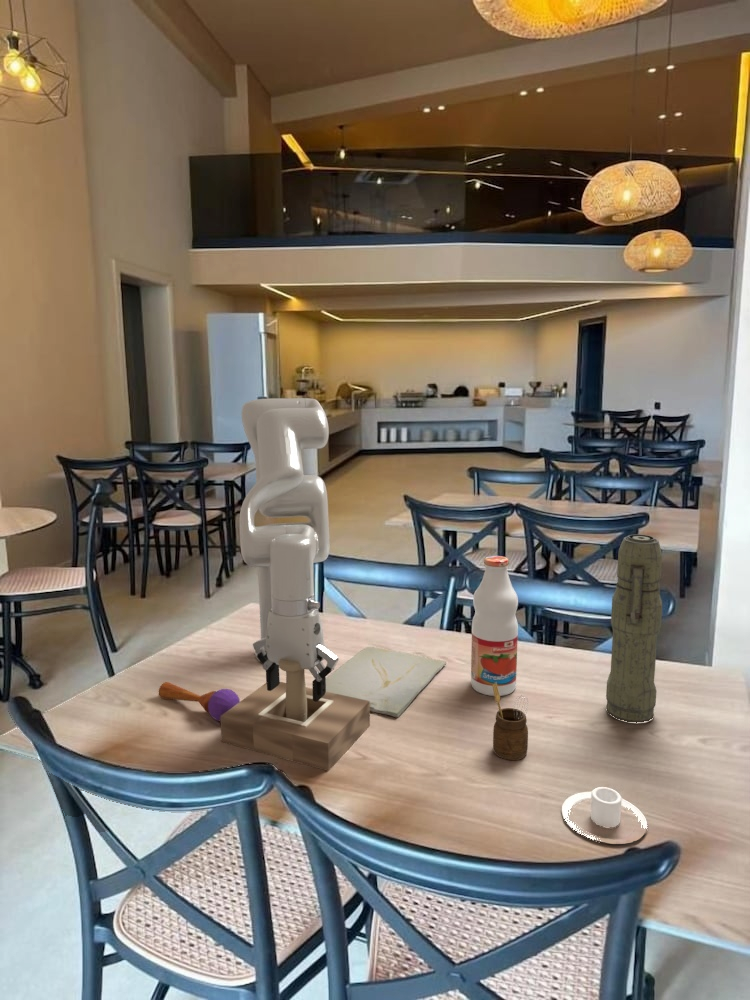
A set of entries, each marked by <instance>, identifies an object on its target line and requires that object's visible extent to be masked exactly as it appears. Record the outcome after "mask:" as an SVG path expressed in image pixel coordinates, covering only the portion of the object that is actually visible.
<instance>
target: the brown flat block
mask: <svg viewBox="0 0 750 1000" xmlns="http://www.w3.org/2000/svg"><path fill="white" fill-rule="evenodd" d="M312 688H313V687H312ZM312 688H311V687H306V696H307V720H306V721H305V722H301V721H297V720H293V719H289V718H286V682H283V681H280V684H279V685H278V686H277V687H275V688H274V689H273V690H271V691H268V690H267V683H266V682H265V683H264V684H262V685H261V686H260V687H258V688H257V689H255V690H254V691H253V692H252V693H250V694H249V695H247V696H246V697H244V698H243V699H242V700H240V702H239V703H238V704H236V705H235V706H234V707H232V708H231V709H230V710H228V711H227V712H225V713H224V714H223V715H221V716H220V719H221V721H220V732H221V733H220V734H221V736H220V737H221V743H225V744H228V745H232V746H236V747H239V748H243V749H247V750H251V751H254V752H258V753H261V754H265V755H269V756H272V757H276V758H280V759H284V760H288V761H291V762H295V763H299V764H302V765H306V766H310V767H313V768H316V767H317V769H320V768H321V770H325V771H328V772H329V771H330V770H331V769H332V768H333V767H334V766H335V765H336V764H337V762H338V761H340V759H341V758H342V757H343V756H344V755H345V754H346V752H348V750H349V749H350V748H351V747H352V746H353V745H354V744H355V743H356V742H357V740H358V739H359V738H361V736H362V735H363V734H364V733H365V732H366V731H367V730H368V728H369V727H370V726H371V724H370V723H371V720H370V719H371V717H370V716H371V715H370V714H371V711H370V701H367V700H363V699H358V698H354V697H349V696H344V695H340V694H335V693H330V692H326V693H325V695H324V696H323V697H322V698H321V699H319V700H318V701H317V702H315V701H314V700H313V689H312Z"/></svg>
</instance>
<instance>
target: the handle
mask: <svg viewBox="0 0 750 1000" xmlns="http://www.w3.org/2000/svg"><path fill="white" fill-rule="evenodd" d="M278 666H279V670H282V671H283V672H286V673H285V674H286V675H285V676H286V677H285V678H286V679H285V683H286V718H289V719H293V720H297V721H301V722H305V721H306V720H307V696H306V675H305V669H302V668H301V667H300V663H295V662H290V661H285V660H281V659H280V660H279V665H278Z"/></svg>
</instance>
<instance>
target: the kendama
mask: <svg viewBox="0 0 750 1000" xmlns="http://www.w3.org/2000/svg"><path fill="white" fill-rule="evenodd" d="M158 697H160V698H161V699H162V700H163V699H165V700H177V701H187V702H198V703H199V705H200V706H201V707H202V708H203V710H204V711H205V713H208V714H210V716H211V717H212V718H213V719H214V720H216V721H218V722H221V719H220V716H221V715H223V714H224V713H225V712H227V711H228V710H230V709H231V708H232V707H234V706H235V705H236V704H238V703H239V702H240V701H241V700H240V698H239V695H238V694H237V693H236V692H235V691H233V690H232V689H229V688H221V689H219V690H217V691H216V690H212V691H209V692H208V693H205V694H202V695H199V694H197V693H194V692H192V691H190V690H187V689H185V688H183V687H180V686H177V684H173V683H171V682H168V681H165V682H163V683H162V684H161V685H160V686H159V689H158Z"/></svg>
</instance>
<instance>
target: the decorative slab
mask: <svg viewBox="0 0 750 1000" xmlns="http://www.w3.org/2000/svg"><path fill="white" fill-rule="evenodd" d="M446 665H447V661H445V660H441V659H435V658H430V657H428V656H427V657H426V656H423V655H419V654H418V655H417V654H414V653H413V654H412V653H408V652H401V651H396V650H391V649H386V648H382V647H378V646H367V647H365V648H363V649H362V650H360V651H359V652H357V653H356V654H354V655H353V657H351V658H349V659H348V660H347V661H346V662H344V663H343V664H342V665H340V666H339V667H338V668H337V669H336V670H333V671H332V672H331V674H330V675H327V676H326V692H330V693H335V694H340V695H344V696H349V697H354V698H358V699H363V700H367V701H370V712H372V713H375V714H376V713H377V714H382V715H388V716H391V717H394V718H399V717H400V716H401V715H402V713H404V711H405V710H406V709H407V708H408V707H409V705H410V704H411V703H413V701H414V699H415V698H416V697H417V696H418V695H419V694H420V693H421V691H422V690H424V689H425V687H426V686H427V685H428V684H429V683H430V681H432V680H433V679H434V677H435V676H436V674H437V673H438V672H440V671H441V670H443V667H444V666H446ZM312 689H313V687H312Z"/></svg>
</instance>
